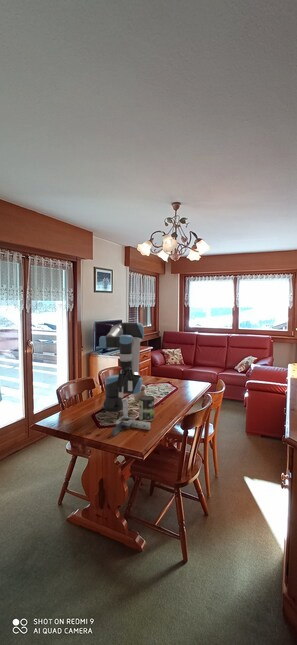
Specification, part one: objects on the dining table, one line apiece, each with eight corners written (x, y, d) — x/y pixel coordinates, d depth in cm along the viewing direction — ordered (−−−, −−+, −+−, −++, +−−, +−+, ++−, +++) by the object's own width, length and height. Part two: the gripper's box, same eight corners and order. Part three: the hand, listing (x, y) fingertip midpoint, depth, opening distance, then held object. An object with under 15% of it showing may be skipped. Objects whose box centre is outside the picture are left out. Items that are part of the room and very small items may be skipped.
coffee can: (157, 417, 206) (157, 396, 205) (148, 422, 198) (149, 400, 197) (144, 414, 212) (144, 394, 211) (135, 419, 203) (135, 398, 202)
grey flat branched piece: (107, 434, 179) (107, 428, 178) (122, 422, 198) (122, 415, 198) (139, 440, 172) (140, 433, 171) (152, 426, 191) (152, 420, 191)
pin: (122, 426, 191) (122, 400, 190) (124, 424, 194) (124, 399, 193) (126, 426, 190) (126, 401, 189) (128, 425, 193) (128, 399, 192)
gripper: (122, 364, 177) (122, 400, 179) (139, 357, 200) (138, 389, 202) (110, 363, 180) (111, 399, 181) (128, 356, 203) (128, 387, 204)
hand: (125, 394), depth 192 cm, fingers open, 13 cm apart
